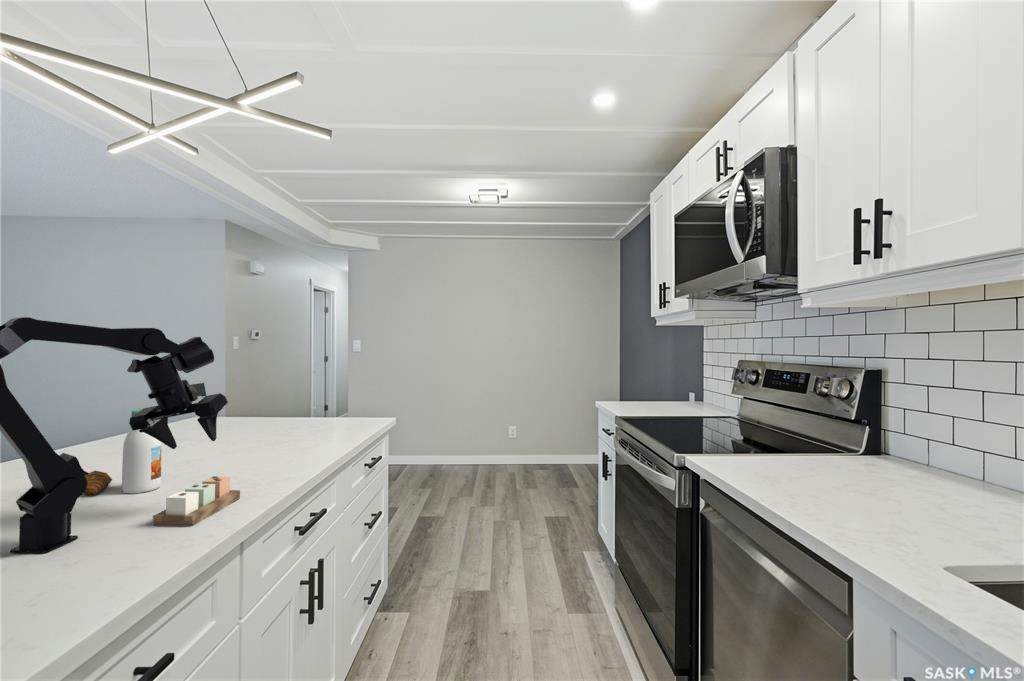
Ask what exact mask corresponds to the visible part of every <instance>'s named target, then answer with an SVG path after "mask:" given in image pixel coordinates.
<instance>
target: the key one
mask: <svg viewBox="0 0 1024 681" xmlns="http://www.w3.org/2000/svg"><path fill="white" fill-rule="evenodd" d="M198 496H199V492H185V491H179V492H177V493H174V494H171V495H170V496H167V497H165V498H166V499H165V510H166V515H187V514H189V513H191V512H193V511H195V510H197V509H198Z"/></svg>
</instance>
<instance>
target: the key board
mask: <svg viewBox="0 0 1024 681" xmlns="http://www.w3.org/2000/svg"><path fill="white" fill-rule="evenodd" d="M239 500H241V490H237V489H234V490H232V489H230V492H229V493H227V494H225V495H223V496H221V497H215V500H214V501H212V502H210V503H208V504H206V505H204V506H198V509H197V510H195V511H193V512H191V513H189V514H187V515H166V509H164V510H162V511H159V512H158V513H155V514H154V515H152V526H156V527H157V526H160V527H163V526H165V527H193V526H195V525H197V524H199V523H200V522H202V521H204V520H205V519H207V518H209V517H211V516H213V515H214V514H216V513H218V512H220V511H221V510H223V509H225V508H226V507H228V506H229V505H233V503H235V502H237V501H239Z"/></svg>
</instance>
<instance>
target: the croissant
mask: <svg viewBox="0 0 1024 681" xmlns="http://www.w3.org/2000/svg"><path fill="white" fill-rule="evenodd" d="M88 473H89V474H88V475H84V476H85V477H86V479H87V481H88V485H87V487H86V490H85V491H84V493H83V495H86V496H90V497H92V496H95V495H98V494H101V493H103V492H104V491H105V490H106V489H107V488H108V486H109V485H110V484H111V483H112V481H113V478H112V477H111V476H110V475H109V474H108V472H104V471H99V470H93V471H91V472H90V471H89V472H88Z"/></svg>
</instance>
